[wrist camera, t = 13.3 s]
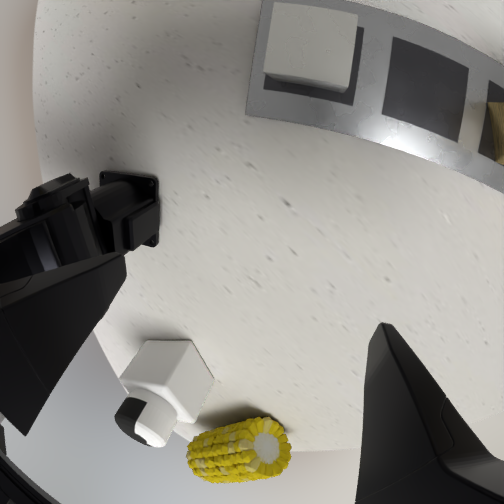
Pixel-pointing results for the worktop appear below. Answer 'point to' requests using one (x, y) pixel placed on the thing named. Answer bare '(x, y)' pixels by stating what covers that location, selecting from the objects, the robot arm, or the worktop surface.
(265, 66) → the zinc block
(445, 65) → the grey slotted plate
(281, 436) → the food
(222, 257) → the worktop surface
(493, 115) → the tan wooden block
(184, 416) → the medicine bottle
